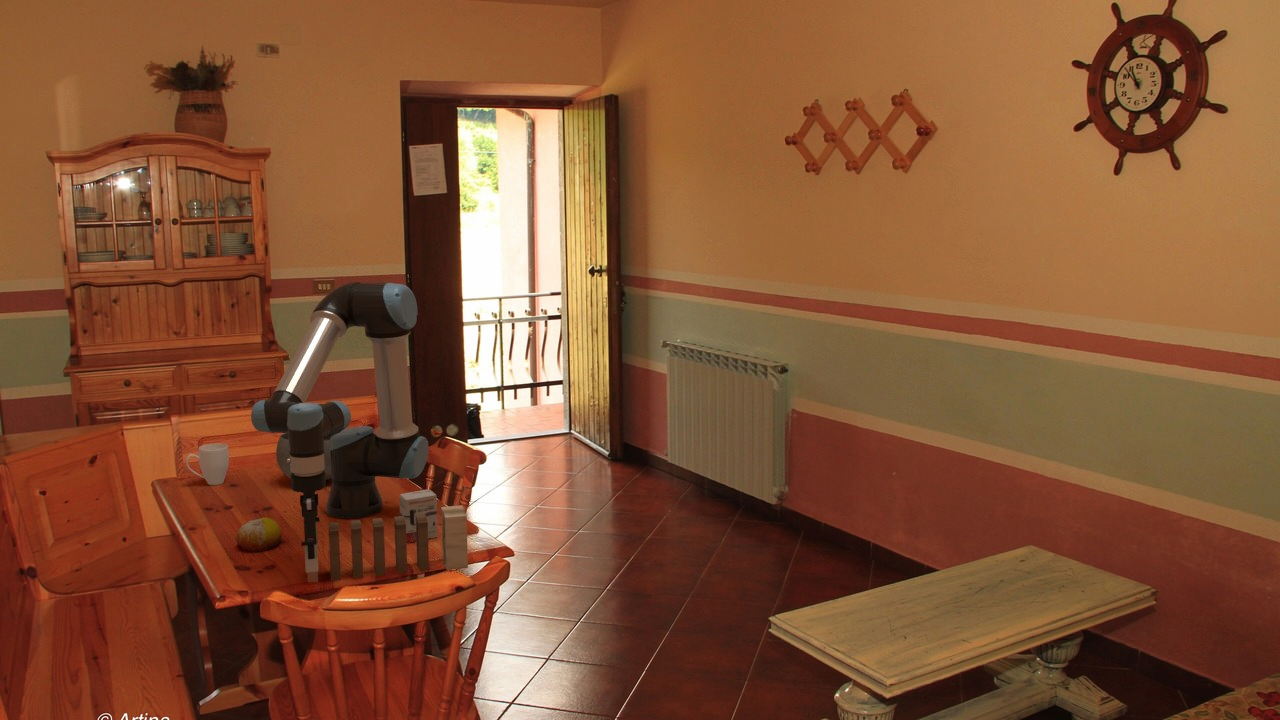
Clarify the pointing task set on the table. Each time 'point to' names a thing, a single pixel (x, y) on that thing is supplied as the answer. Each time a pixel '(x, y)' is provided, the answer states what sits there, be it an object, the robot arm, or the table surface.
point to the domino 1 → (312, 575)
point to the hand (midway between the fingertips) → (312, 560)
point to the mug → (212, 462)
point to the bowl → (283, 455)
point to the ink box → (419, 512)
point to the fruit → (259, 535)
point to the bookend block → (454, 537)
